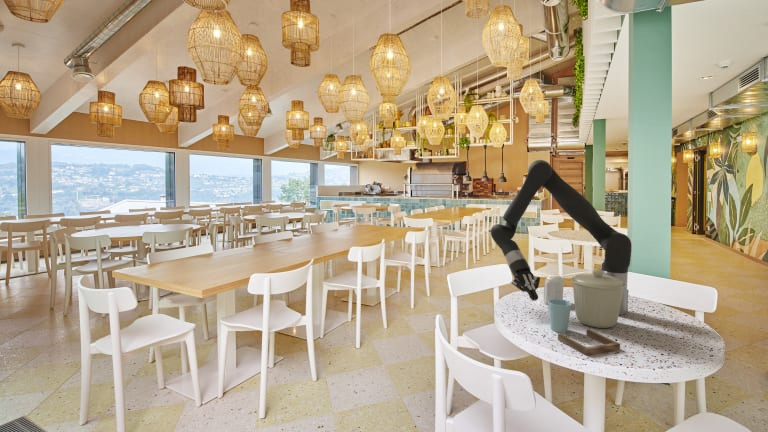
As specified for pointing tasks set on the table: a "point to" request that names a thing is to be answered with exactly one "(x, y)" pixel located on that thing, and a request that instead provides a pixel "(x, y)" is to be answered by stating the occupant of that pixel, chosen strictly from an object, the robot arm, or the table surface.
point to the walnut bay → (607, 347)
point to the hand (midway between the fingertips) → (535, 299)
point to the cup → (559, 314)
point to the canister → (597, 298)
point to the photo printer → (553, 288)
